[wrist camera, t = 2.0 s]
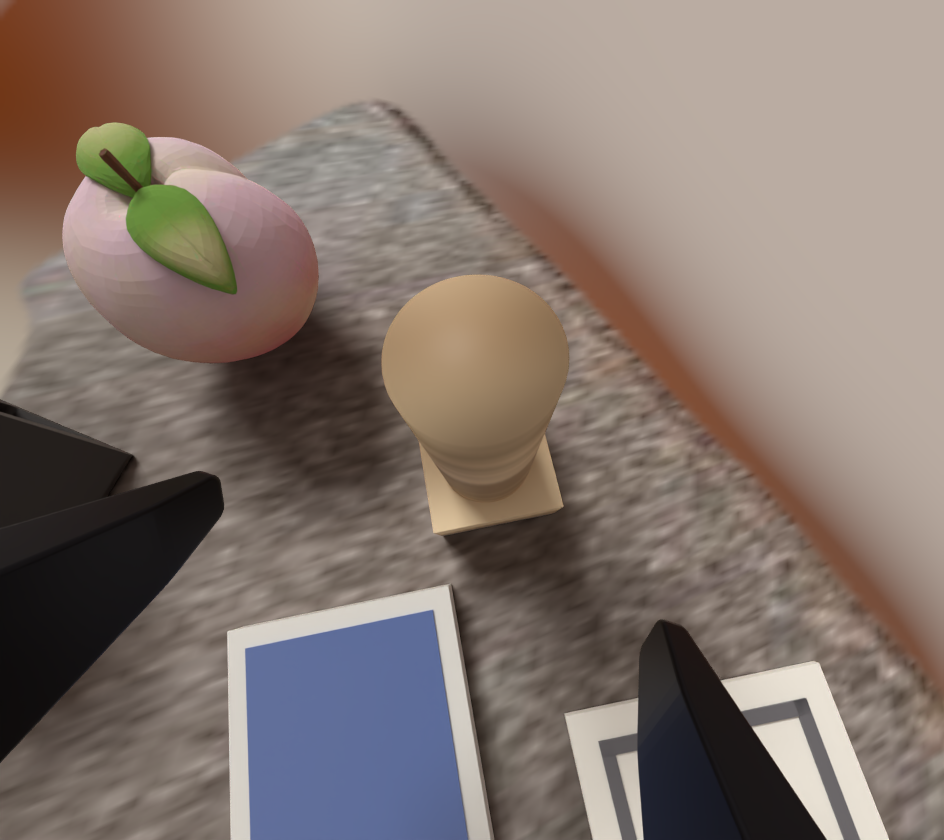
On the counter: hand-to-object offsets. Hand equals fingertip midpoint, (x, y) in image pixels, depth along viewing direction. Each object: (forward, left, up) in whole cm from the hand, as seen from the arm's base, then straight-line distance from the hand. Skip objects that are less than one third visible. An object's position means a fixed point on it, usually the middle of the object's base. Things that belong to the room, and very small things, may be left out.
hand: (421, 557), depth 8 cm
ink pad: (-6, +5, -11) cm, 13 cm away
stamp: (+3, -2, -11) cm, 11 cm away
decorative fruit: (+13, +8, -11) cm, 19 cm away
